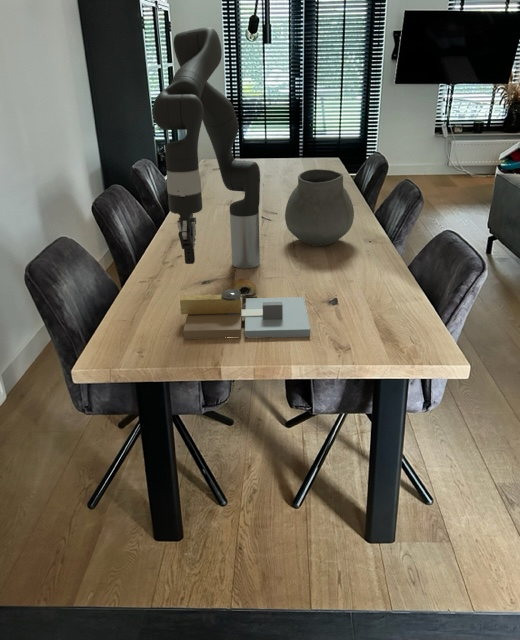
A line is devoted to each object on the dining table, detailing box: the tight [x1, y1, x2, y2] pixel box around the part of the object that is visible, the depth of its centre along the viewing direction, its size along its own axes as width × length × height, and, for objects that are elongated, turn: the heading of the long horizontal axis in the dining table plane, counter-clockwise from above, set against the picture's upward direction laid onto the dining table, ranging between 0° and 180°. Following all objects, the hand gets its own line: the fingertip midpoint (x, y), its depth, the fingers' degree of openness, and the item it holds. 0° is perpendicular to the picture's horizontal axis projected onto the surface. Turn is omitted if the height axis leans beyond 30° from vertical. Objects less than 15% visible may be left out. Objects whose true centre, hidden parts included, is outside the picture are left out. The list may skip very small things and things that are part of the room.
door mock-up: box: [183, 296, 311, 340], centre depth 148 cm, size 20×31×6 cm, turn 91°
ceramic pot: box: [284, 168, 355, 247], centre depth 201 cm, size 24×24×25 cm
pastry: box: [231, 278, 257, 297], centre depth 167 cm, size 9×7×4 cm
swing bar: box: [179, 288, 243, 315], centre depth 147 cm, size 16×5×5 cm, turn 90°
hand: (190, 262), depth 135 cm, fingers closed
